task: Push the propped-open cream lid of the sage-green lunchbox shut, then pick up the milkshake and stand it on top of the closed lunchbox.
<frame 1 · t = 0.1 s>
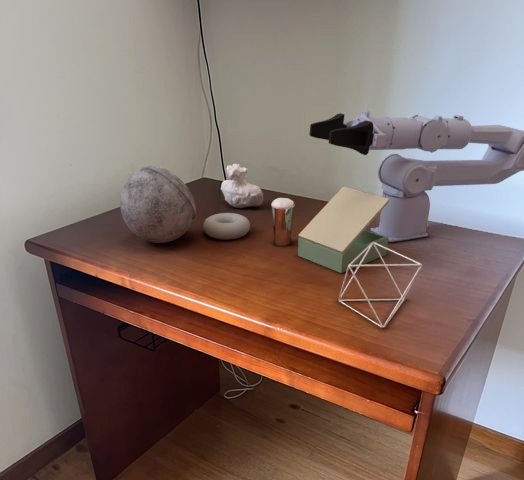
hand: (320, 133, 99), 22 cm above the table, tool horizontal, fingers open, 7 cm apart
milkshake: (284, 244, 112), on the table
decorative orb: (161, 241, 114), on the table
donut: (227, 234, 117), on the table
geometric polyhedron: (374, 310, 87), on the table
white lumpy piece: (240, 207, 133), on the table
lunchbox lid: (343, 218, 102), point 7 cm above the table, hinge at 30.0°
lunchbox: (342, 255, 106), on the table
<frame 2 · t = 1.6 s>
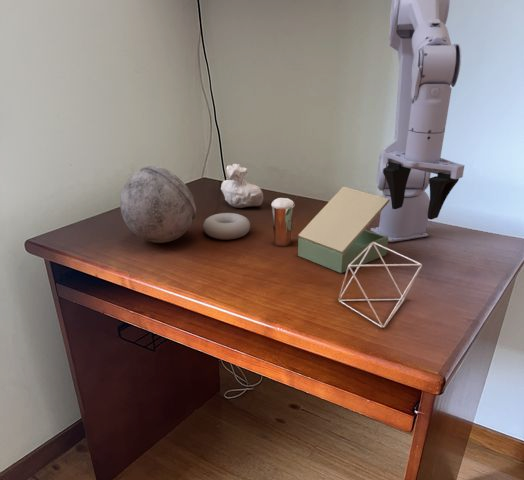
hand: (414, 212, 95), 10 cm above the table, tool pointing down, fingers open, 7 cm apart
nothing on the table moved.
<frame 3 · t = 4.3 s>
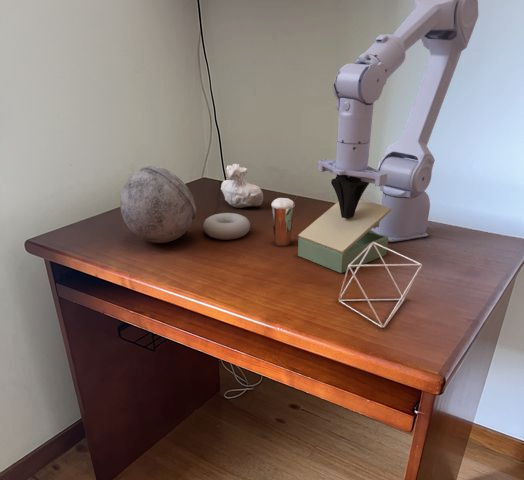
hand: (347, 217, 103), 7 cm above the table, tool pointing down, fingers closed, pressing on lunchbox lid
lunchbox lid: (344, 222, 103), point 6 cm above the table, hinge at 21.2°, touching gripper
everything else where it was.
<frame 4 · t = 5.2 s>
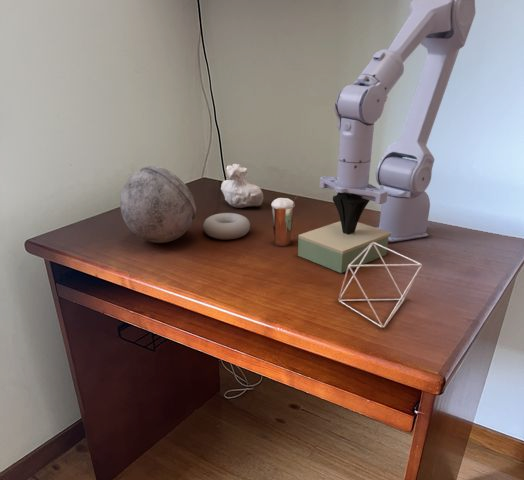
hand: (348, 232, 105), 4 cm above the table, tool pointing down, fingers closed, pressing on lunchbox lid
lunchbox lid: (345, 235, 104), point 4 cm above the table, hinge at 0.1°, touching gripper
everything else where it was.
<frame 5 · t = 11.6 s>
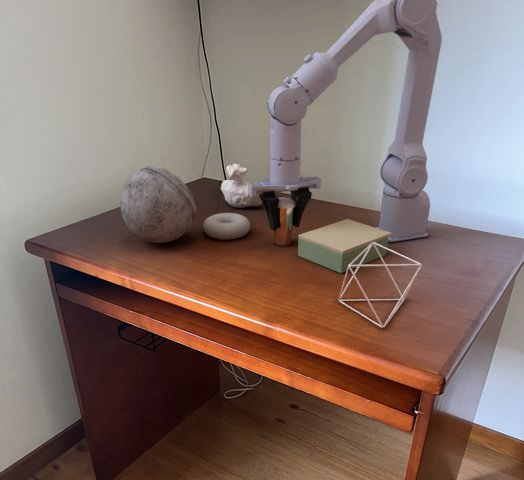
hand: (284, 227, 110), 3 cm above the table, tool pointing down, fingers closed on milkshake, 4 cm apart
milkshake: (284, 244, 112), on the table, touching gripper
lunchbox lid: (345, 235, 104), point 4 cm above the table, hinge at 0.0°
everything else where it was.
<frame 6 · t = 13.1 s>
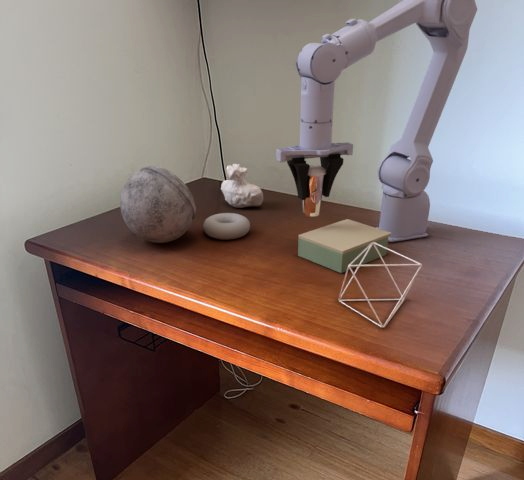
hand: (313, 197, 104), 10 cm above the table, tool pointing down, fingers closed on milkshake, 4 cm apart
milkshake: (313, 215, 106), point 7 cm above the table, touching gripper
everything else where it was.
when the fingers open (8 cm above the table, at t = 15.0 s): milkshake stays where it is, resting on lunchbox lid.
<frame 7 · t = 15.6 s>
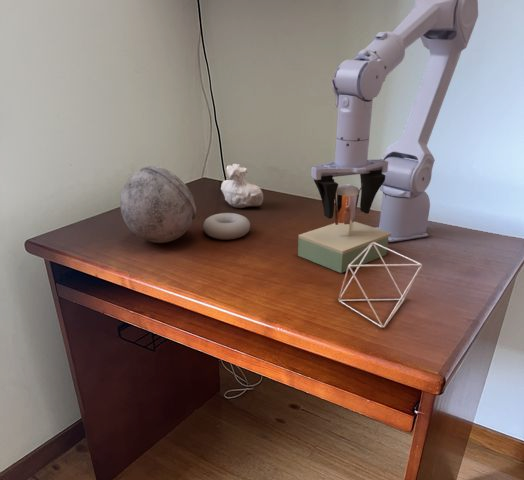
hand: (346, 214, 102), 8 cm above the table, tool pointing down, fingers open, 7 cm apart
milkshake: (345, 234, 104), point 4 cm above the table, touching lunchbox lid
lunchbox lid: (345, 235, 104), point 4 cm above the table, hinge at -0.2°, touching lunchbox, milkshake
everything else where it was.
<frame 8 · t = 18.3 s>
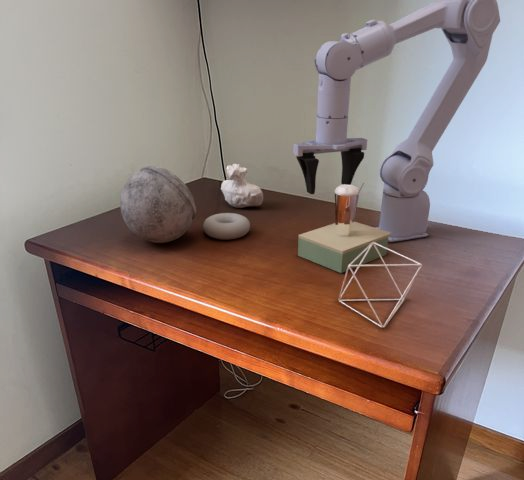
hand: (328, 190, 107), 10 cm above the table, tool pointing down, fingers open, 7 cm apart
milkshake: (345, 234, 104), point 4 cm above the table
lunchbox lid: (345, 235, 104), point 4 cm above the table, hinge at -0.2°, touching lunchbox
everything else where it was.
at the end: lunchbox lid at +0° (first picture: +30°); milkshake inside the target area on the lunchbox (0.5 cm from its centre), point 4.0 cm above the lunchbox's base; milkshake tilted 0° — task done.
